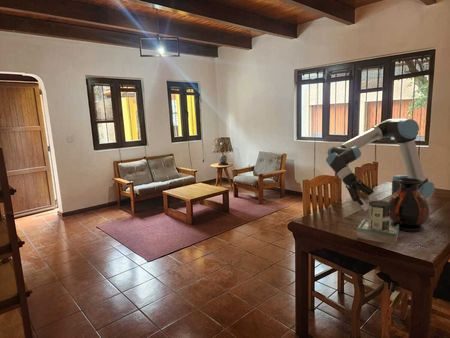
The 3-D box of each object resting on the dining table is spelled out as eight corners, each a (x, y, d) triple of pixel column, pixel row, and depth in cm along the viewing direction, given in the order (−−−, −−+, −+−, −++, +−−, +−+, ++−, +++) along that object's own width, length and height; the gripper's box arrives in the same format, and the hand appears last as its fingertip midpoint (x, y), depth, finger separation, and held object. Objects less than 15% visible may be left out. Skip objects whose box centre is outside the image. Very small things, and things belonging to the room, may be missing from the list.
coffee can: (385, 225, 166) (386, 200, 163) (392, 232, 156) (393, 206, 153) (365, 224, 168) (366, 200, 165) (370, 231, 158) (371, 205, 155)
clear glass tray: (363, 228, 173) (363, 219, 172) (398, 234, 163) (399, 224, 162) (356, 237, 160) (357, 227, 160) (395, 244, 150) (395, 234, 149)
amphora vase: (386, 219, 186) (388, 175, 182) (428, 224, 175) (431, 177, 170) (383, 230, 168) (386, 182, 164) (430, 237, 157) (433, 185, 152)
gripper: (353, 176, 181) (377, 205, 172) (331, 183, 165) (356, 215, 156) (362, 169, 176) (388, 198, 167) (340, 175, 160) (367, 208, 151)
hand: (373, 206), depth 162 cm, fingers open, 13 cm apart
